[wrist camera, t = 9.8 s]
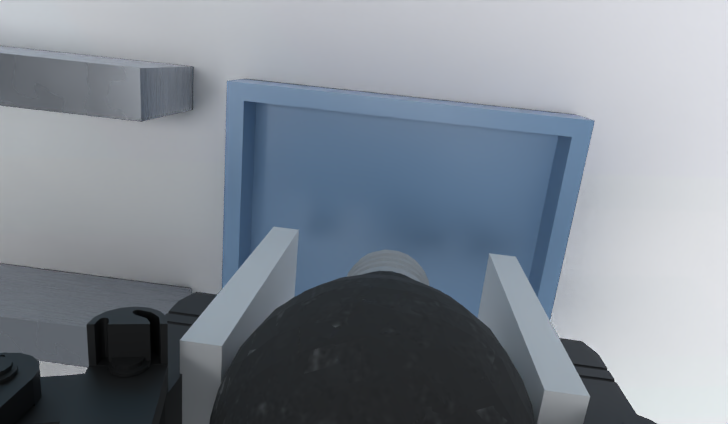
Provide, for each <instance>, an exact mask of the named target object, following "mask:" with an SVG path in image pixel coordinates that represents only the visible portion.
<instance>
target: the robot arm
mask: <svg viewBox="0 0 728 424" xmlns="http://www.w3.org/2000/svg"><path fill="white" fill-rule="evenodd" d="M298 236H299V230H297V229H289V228H281V227H273V228H272V229H271V230H270V232H269V233H268V234H267V235H266V237H265V238H264V239H263V240H262V241H261V243H260V244H259V245H258V246H257V247H256V249H255V250H254V251H253V252H252V253H251V255H250V256H249V257H248V258H247V260H246V261H245V262H244V263H243V264H242V266H241V267H240V268H239V269H238V270H237V272H236V273H235V274H234V275H233V276H232V278H231V279H230V280H229V281H228V282H227V284H226V285H225V286H224V287H223V289H222V290H221V291H220V292H219V293H218V295H215V294H207V293H200V292H196V293H193V294H191V295H189V296H187V297H185V298H183V299H181V300H179V301H178V302H177V303H176V304H175V305H174V306H173V307H172V308H171V309H170V310H169V313H166V314H165V315H164V314H163V313H162V312H161V311H158V310H155V309H152V308H147V307H136V306H135V307H123V308H118V309H114V310H110V311H106V312H104V313H102V314H100V315H98V316H95V317H94V318H93V319H92V320H91V321H89V322H88V323H87V324H86V326H87V343H88V360H89V367H88V369H87V371H86V373H85V374H78V375H66V376H49V377H40V369H39V361H38V360H36V359H35V358H34V357H33V356H31V355H27V354H23V353H7V352H4V353H0V424H209V423H210V416H211V413H212V409H213V405H214V402H215V399H216V395H217V392H218V389H219V387H220V385H221V383H222V381H223V379H224V377H225V375H226V373H227V371H228V369H229V367H230V365H231V363H232V361H233V359H234V358H235V356H236V354H237V352H238V350H239V348H240V347H241V345H242V344H243V343H244V342H245V341H246V340H247V339H248V338H249V336H250V335H251V334H252V333H253V332H254V331H255V330H256V329H257V328H258V327H259V326H260V325H261V324H262V323H263V322H264V320H265V319H266V318H267V317H268V316H269V315H270V314H271V313H272V312H273V311H274V310H275V309H276V308H278V307H280V306H281V305H283V304H284V303H286V302H288V301H289V300H290V299H292V298H293V297H294V295H295V280H296V265H297V251H298ZM478 319H479V320H480V321H482V322H483V323H484V324H485V325H486V326H487V327H489V328H490V329H491V331H492V332H493V334H494V335H495V337H496V338H497V340H498V341H499V343H500V344H501V345H502V347H503V348H504V349H505V351H506V352H507V354H508V355H509V357H510V359H511V361H512V362H513V364H514V366H515V368H516V369H517V371H518V373H519V374H520V376H521V378H522V380H523V382H524V385H525V388H526V390H527V393H528V396H529V398H530V401H531V404H532V408H533V414H534V421H535V424H656V423H655V422H653V421H651V420H649V419H647V418H644V417H642V416H639V415H637V414H636V413H635V411H634V410H633V408H632V406H631V405H630V403H629V402H628V400H627V399H626V397H625V395H624V394H623V392H622V391H621V389H620V388H619V386H618V384H617V383H616V382H614V378H613V377H612V375H611V373H610V372H609V371H607V367H606V366H605V364H604V362H603V361H602V359H601V358H600V356H599V355H598V354H597V353H596V352H595V351H593V350H592V349H591V348H590V347H588V346H587V345H586V344H585V343H583V342H582V341H576V340H569V339H561V338H559V337H558V335H557V333H556V331H555V329H554V328H553V326H552V324H551V322H550V320H549V318H548V316H547V314H546V313H545V311H544V309H543V307H542V305H541V303H540V301H539V299H538V298H537V296H536V294H535V292H534V290H533V288H532V286H531V284H530V283H529V281H528V279H527V277H526V275H525V273H524V271H523V269H522V267H521V266H520V264H519V262H518V260H517V258H516V257H515V256H507V255H499V254H491V253H489V258H488V263H487V269H486V274H485V280H484V285H483V291H482V296H481V302H480V307H479V313H478Z"/></svg>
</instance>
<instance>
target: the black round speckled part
mask: <svg viewBox="0 0 728 424" xmlns="http://www.w3.org/2000/svg"><path fill="white" fill-rule="evenodd" d="M209 424H535V421H534V414H533V408H532V404H531V401H530V398H529V396H528V393H527V390H526V388H525V385H524V382H523V380H522V378H521V376H520V374H519V373H518V371H517V369H516V368H515V366H514V364H513V362H512V361H511V359H510V357H509V355H508V354H507V352H506V351H505V349H504V348H503V347H502V345H501V344H500V343H499V341H498V340H497V338H496V337H495V335H494V334H493V332H492V331H491V329H490V328H489V327H487V326H486V325H485V324H484V323H483V322H482V321H480V320H479V319H478V318H477V317H476V316H475V315H473V314H472V313H471V312H470V311H469V310H467V309H466V308H465V307H464V306H463V305H461V304H460V303H458V302H457V301H456V300H454V299H453V298H452V297H450V296H449V295H447V294H444V293H443V292H441V291H440V290H438V289H435V288H433V287H430V286H429V280H428V278H427V276H426V273H425V271H424V270H423V268H422V267H421V266H420V265H419V264H418V262H417V261H416V260H414V259H413V258H412V257H410V256H409V255H407V254H405V253H402V252H399V251H394V250H381V251H376V252H372V253H369V254H367V255H365V256H364V257H362V258H361V259H360V260H359V261H358V262H357V263H356V264H355V265H354V266H353V267H352V269H351V270H350V271H349V273H348V275H347V277H342V278H338V279H335V280H333V281H330V282H327V283H323V284H321V285H318V286H316V287H313V288H311V289H309V290H306V291H304V292H303V293H301V294H299V295H298V296H295V297H293V298H292V299H290V300H289V301H288V302H286V303H284V304H283V305H281V306H280V307H278V308H276V309H275V310H274V311H273V312H272V313H271V314H270V315H269V316H268V317H267V318H266V319H265V320H264V322H263V323H262V324H261V325H260V326H259V327H258V328H257V329H256V330H255V331H254V332H253V333H252V334H251V335H250V336H249V338H248V339H247V340H246V341H245V342H244V343H243V344H242V345H241V347H240V348H239V350H238V352H237V354H236V356H235V358H234V359H233V361H232V363H231V365H230V367H229V369H228V371H227V373H226V375H225V377H224V379H223V381H222V383H221V385H220V387H219V389H218V392H217V395H216V399H215V402H214V405H213V409H212V413H211V416H210V423H209Z"/></svg>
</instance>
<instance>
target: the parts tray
mask: <svg viewBox="0 0 728 424" xmlns="http://www.w3.org/2000/svg"><path fill="white" fill-rule="evenodd" d="M593 126H594V120H591V119H588V118H585V117H582V116H579V115H575V114H565V113H556V112H547V111H538V110H528V109H519V108H510V107H501V106H491V105H482V104H473V103H464V102H454V101H445V100H436V99H427V98H417V97H408V96H399V95H390V94H380V93H371V92H362V91H353V90H343V89H334V88H325V87H316V86H306V85H297V84H288V83H279V82H270V81H260V80H251V79H239V80H230V81H227V104H226V145H225V186H224V227H223V268H222V289H223V287H224V286H225V285H226V284H227V282H228V281H229V280H230V279H231V278H232V276H233V275H234V274H235V273H236V272H237V270H238V269H239V268H240V267H241V266H242V264H243V263H244V262H245V261H246V260H247V258H248V257H249V256H250V255H251V253H252V252H253V251H254V250H255V249H256V247H257V246H258V245H259V244H260V243H261V241H262V240H263V239H264V238H265V237H266V235H267V234H268V233H269V232H270V230H271V229H272V228H273V227H281V228H289V229H297V230H299V236H298V251H297V265H296V280H295V295H294V297H295V296H298V295H299V294H301V293H303V292H304V291H306V290H309V289H311V288H313V287H316V286H318V285H321V284H323V283H327V282H330V281H333V280H335V279H338V278H342V277H347V275H348V273H349V271H350V270H351V269H352V267H353V266H354V265H355V264H356V263H357V262H358V261H359V260H360V259H361V258H362V257H364V256H365V255H367V254H369V253H372V252H376V251H381V250H394V251H399V252H402V253H405V254H407V255H409V256H410V257H412V258H413V259H414V260H416V261H417V262H418V264H419V265H420V266H421V267H422V268H423V270H424V271H425V273H426V276H427V278H428V280H429V286H430V287H433V288H435V289H438V290H440V291H441V292H443V293H444V294H447V295H449V296H450V297H452V298H453V299H454V300H456V301H457V302H458V303H460V304H461V305H463V306H464V307H465V308H466V309H467V310H469V311H470V312H471V313H472V314H473V315H475V316H476V317H477V318H478V313H479V307H480V302H481V296H482V291H483V285H484V280H485V274H486V269H487V263H488V258H489V253H491V254H499V255H507V256H515V257H516V258H517V260H518V262H519V264H520V266H521V267H522V269H523V271H524V273H525V275H526V277H527V279H528V281H529V283H530V284H531V286H532V288H533V290H534V292H535V294H536V296H537V298H538V299H539V301H540V303H541V305H542V307H543V309H544V311H545V313H546V314H547V316H548V318H549V320H550V317H551V313H552V308H553V304H554V299H555V295H556V290H557V286H558V282H559V277H560V273H561V268H562V264H563V259H564V255H565V250H566V246H567V241H568V237H569V233H570V228H571V224H572V219H573V215H574V210H575V206H576V201H577V197H578V193H579V188H580V184H581V179H582V175H583V170H584V166H585V161H586V157H587V152H588V148H589V144H590V139H591V135H592V130H593Z"/></svg>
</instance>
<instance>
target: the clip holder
mask: <svg viewBox="0 0 728 424" xmlns="http://www.w3.org/2000/svg"><path fill="white" fill-rule="evenodd" d="M192 104H193V67H192V66H183V65H174V64H165V63H155V62H146V61H137V60H127V59H118V58H109V57H99V56H90V55H81V54H71V53H62V52H53V51H44V50H34V49H25V48H16V47H6V46H0V105H1V106H10V107H19V108H27V109H36V110H45V111H54V112H63V113H71V114H80V115H89V116H98V117H107V118H115V119H124V120H133V121H145V120H150V119H154V118H158V117H163V116H167V115H171V114H176V113H180V112H185V111H189V110H192ZM189 295H191V288H185V287H177V286H169V285H161V284H154V283H146V282H138V281H131V280H123V279H115V278H108V277H100V276H92V275H84V274H77V273H69V272H61V271H54V270H46V269H38V268H31V267H23V266H15V265H8V264H0V353H4V352H7V353H23V354H27V355H31V356H33V357H34V358H35V359H36V360H39V361H46V362H53V363H61V364H68V365H75V366H82V367H89V360H88V343H87V326H86V324H87V323H88V322H89V321H91V320H92V319H93V318H94V317H95V316H98V315H100V314H102V313H104V312H106V311H110V310H114V309H118V308H123V307H135V306H136V307H147V308H152V309H155V310H158V311H161V312H162V313H163V314H164V315H165V314H166V313H169V310H170V309H171V308H172V307H173V306H174V305H175V304H176V303H177V302H178V301H179V300H181V299H183V298H185V297H187V296H189Z"/></svg>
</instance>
